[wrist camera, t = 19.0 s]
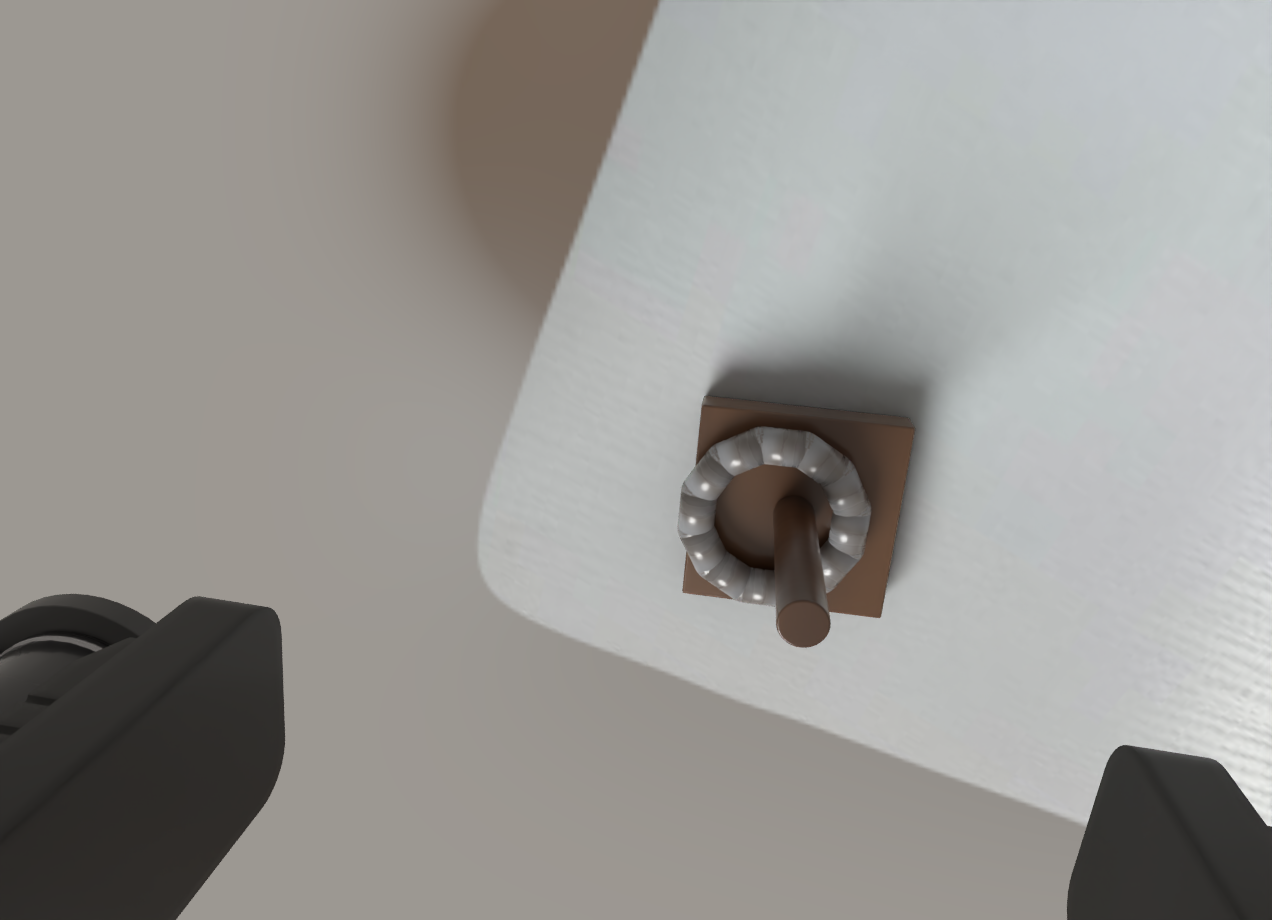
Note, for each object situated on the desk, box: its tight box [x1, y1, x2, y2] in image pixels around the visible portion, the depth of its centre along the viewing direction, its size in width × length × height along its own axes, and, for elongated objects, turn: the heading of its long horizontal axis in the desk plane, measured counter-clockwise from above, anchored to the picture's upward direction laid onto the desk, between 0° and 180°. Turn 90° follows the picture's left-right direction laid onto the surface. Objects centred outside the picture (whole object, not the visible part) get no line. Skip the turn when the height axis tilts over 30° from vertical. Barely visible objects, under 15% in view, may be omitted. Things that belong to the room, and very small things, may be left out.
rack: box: [682, 396, 915, 647], centre depth 33 cm, size 8×8×10 cm
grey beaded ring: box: [678, 426, 871, 607], centre depth 36 cm, size 7×7×1 cm
